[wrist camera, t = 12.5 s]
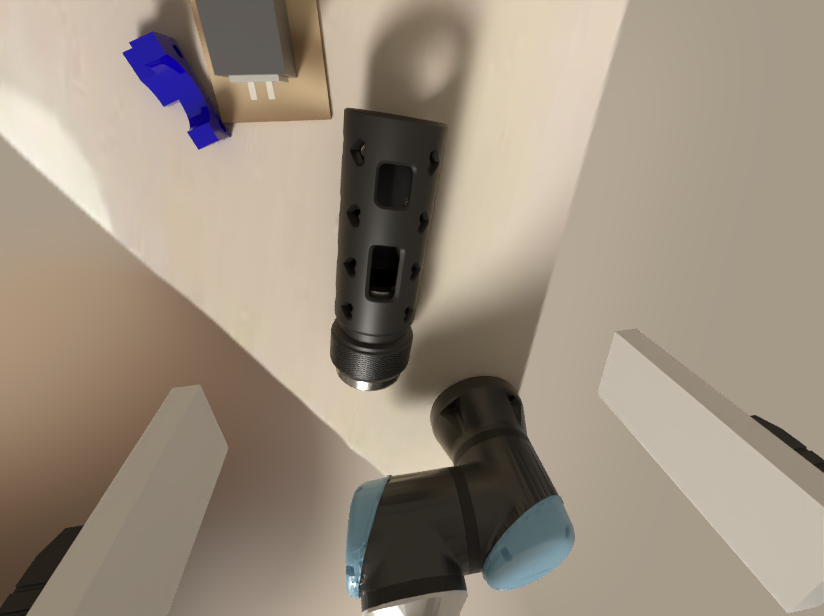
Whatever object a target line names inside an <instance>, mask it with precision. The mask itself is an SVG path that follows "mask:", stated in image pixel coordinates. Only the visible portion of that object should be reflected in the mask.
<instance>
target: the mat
mask: <svg viewBox="0 0 824 616" xmlns="http://www.w3.org/2000/svg"><path fill="white" fill-rule="evenodd" d="M285 3H286V9H287V15H288V21H289V28H290V34H291V40H292V46H293V53H294V59H295V65H296V71H297V78H288V81H289V83H273V87H274V92H275V97H276V99H269V97H268V92H267V87H266V83H264V84H255V86H256V91H257V95H258V100H251V97H250V92H249V88H248V84H243V83H235V82H230V79H229V77H223V76H217V75H214V71H213V67H212V63H211V59H210V56H209V52H208V48H207V44H206V40H205V36H204V33H203V29H202V25H201V21H200V17H199V13H198V10H197V6H196V2H195V0H190V4H191V8H192V11H193V15H194V19H195V23H196V26H197V30H198V34H199V38H200V41H201V45H202V49H203V53H204V56H205V60H206V64H207V68H208V71H209V75H210V79H211V83H212V86H213V90H214V94H215V98H216V101H217V105H218V109H219V113H220V116H221V120H222V123H239V122H268V121H297V120H326V119H331V114H330V106H329V98H328V90H327V82H326V74H325V66H324V58H323V50H322V42H321V34H320V26H319V18H318V10H317V2H316V0H285Z"/></svg>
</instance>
